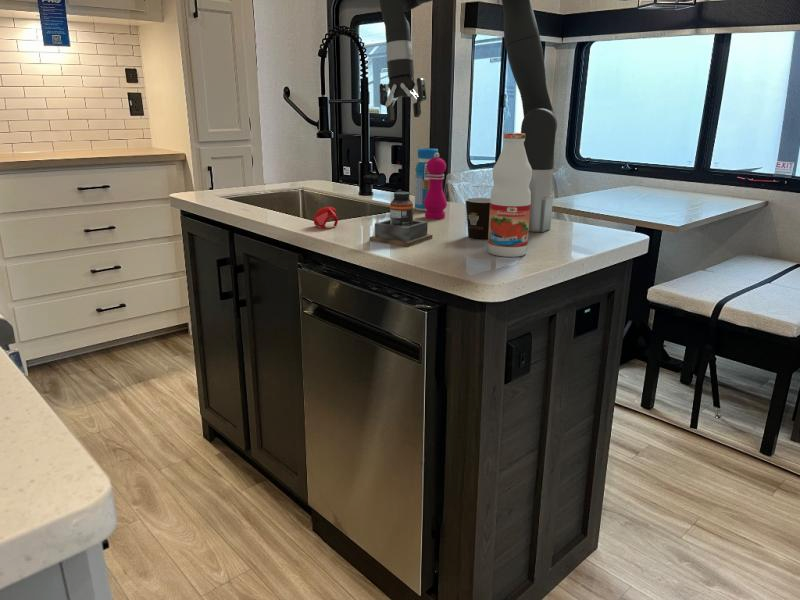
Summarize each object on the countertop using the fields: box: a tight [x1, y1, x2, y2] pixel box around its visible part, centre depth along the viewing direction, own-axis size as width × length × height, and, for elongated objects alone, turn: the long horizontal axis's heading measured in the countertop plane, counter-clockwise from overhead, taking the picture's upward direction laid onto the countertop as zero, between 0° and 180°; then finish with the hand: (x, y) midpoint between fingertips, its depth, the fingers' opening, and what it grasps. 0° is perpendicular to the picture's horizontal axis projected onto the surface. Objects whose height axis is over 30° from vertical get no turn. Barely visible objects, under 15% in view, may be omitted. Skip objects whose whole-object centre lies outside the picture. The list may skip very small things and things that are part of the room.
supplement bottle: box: [389, 191, 414, 227], centre depth 160 cm, size 6×6×11 cm
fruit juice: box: [487, 132, 532, 258], centre depth 144 cm, size 9×9×28 cm
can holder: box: [369, 219, 433, 248], centre depth 161 cm, size 12×12×4 cm
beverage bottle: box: [414, 147, 439, 212], centre depth 205 cm, size 8×8×20 cm
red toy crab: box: [313, 206, 339, 229], centre depth 176 cm, size 8×6×6 cm
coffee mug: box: [465, 197, 491, 241], centre depth 163 cm, size 12×9×10 cm
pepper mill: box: [424, 152, 448, 220], centre depth 191 cm, size 7×7×20 cm
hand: (404, 118), depth 179 cm, fingers open, 8 cm apart
